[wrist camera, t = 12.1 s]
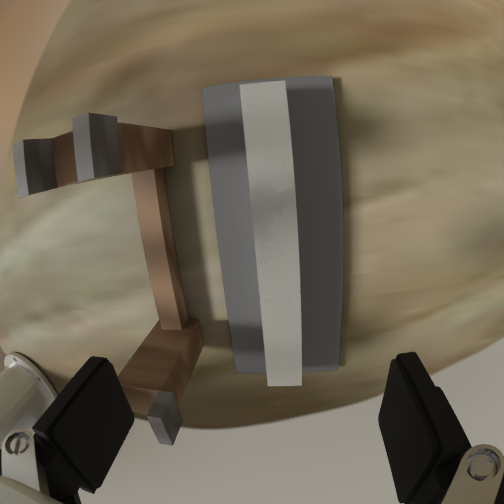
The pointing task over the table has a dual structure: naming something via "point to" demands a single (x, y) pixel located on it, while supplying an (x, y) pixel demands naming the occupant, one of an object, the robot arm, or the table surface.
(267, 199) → the rail
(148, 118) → the table surface
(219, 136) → the mat
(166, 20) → the table surface
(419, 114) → the table surface
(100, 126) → the rack
